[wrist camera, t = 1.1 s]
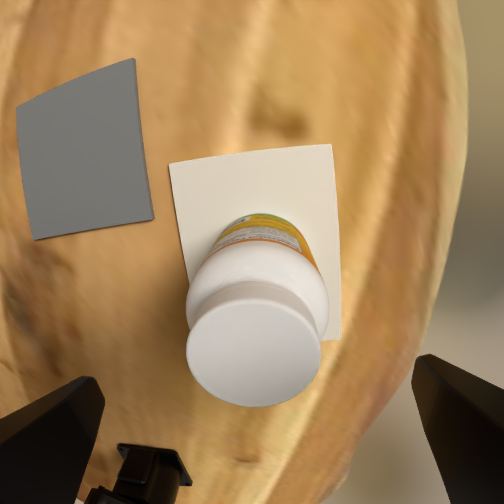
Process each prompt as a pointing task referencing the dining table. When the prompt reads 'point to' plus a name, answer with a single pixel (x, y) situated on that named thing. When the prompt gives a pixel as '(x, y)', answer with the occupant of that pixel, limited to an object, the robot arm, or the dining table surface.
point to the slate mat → (84, 154)
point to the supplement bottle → (256, 314)
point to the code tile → (263, 205)
